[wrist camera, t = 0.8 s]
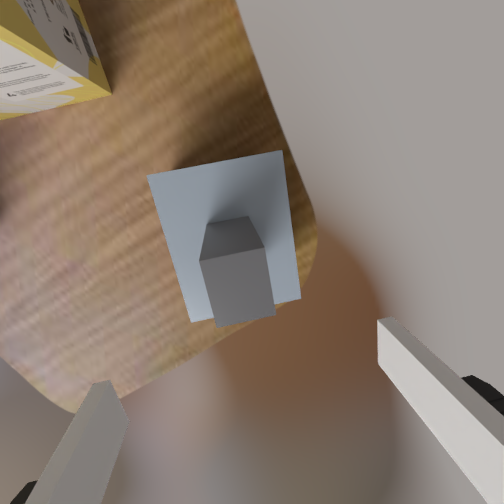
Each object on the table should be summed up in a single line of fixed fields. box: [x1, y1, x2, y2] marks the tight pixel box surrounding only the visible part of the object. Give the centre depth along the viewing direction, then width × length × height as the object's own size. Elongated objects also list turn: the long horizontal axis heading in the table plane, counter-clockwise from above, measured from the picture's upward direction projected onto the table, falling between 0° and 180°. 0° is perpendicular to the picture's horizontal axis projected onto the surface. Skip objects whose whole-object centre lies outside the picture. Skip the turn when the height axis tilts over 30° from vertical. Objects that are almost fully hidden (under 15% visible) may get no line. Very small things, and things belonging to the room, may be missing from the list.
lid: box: [147, 150, 301, 328], centre depth 27 cm, size 19×15×13 cm
